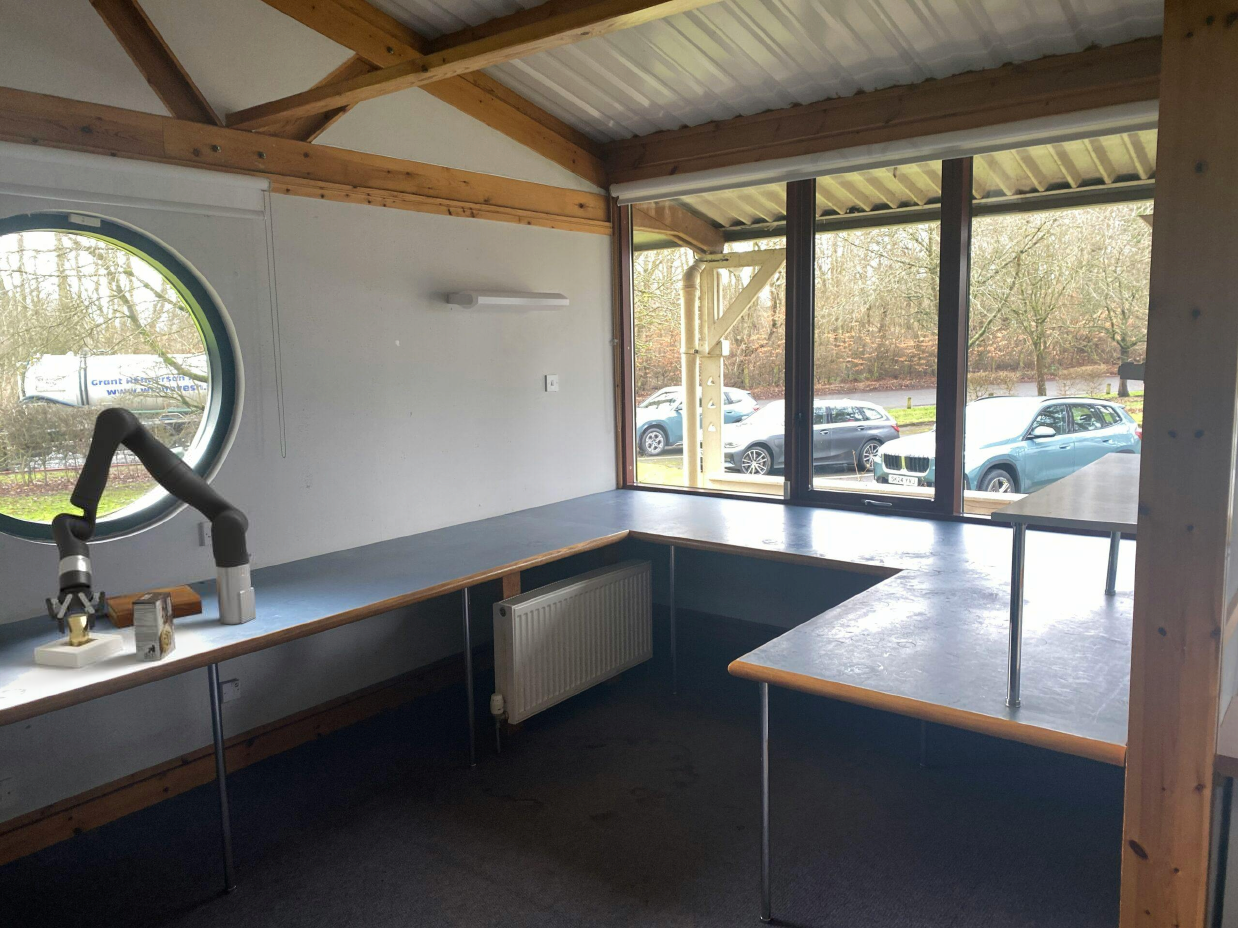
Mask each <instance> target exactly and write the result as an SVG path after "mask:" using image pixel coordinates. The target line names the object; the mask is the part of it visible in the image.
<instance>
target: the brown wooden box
mask: <svg viewBox="0 0 1238 928" xmlns="http://www.w3.org/2000/svg"><path fill="white" fill-rule="evenodd" d="M148 592H171V603H172V614H173V620H174V619H178V618H183V617H184V618H186V617H190V616H194V615H201V614H203V603H202V601H203V600H202V597H201V596H200V595H199V594H198V593H196V592H195V591H194V589H191V588H190V587H189V586H188V585H187V584H185V585H180V586H179V585H178V586H173V587H167V588H161V589H153V590H147V591H143V592H136V593H129V594H122V595H117V596H116V595H115V596H112V597H110V596H109V597H106V599H105V603H106V604H107V605H108V608H109V612H106V615H107V616H109V617H108V618H109V619H110V620H112V621H111V622H112V624H114V627H116V629H117V630H118V629H123V628H129V627H134V619H133V608H132V602H133V601H135V600H136V599H138V598H139V597H141V596H143V595H144V594H146V593H148Z"/></svg>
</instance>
